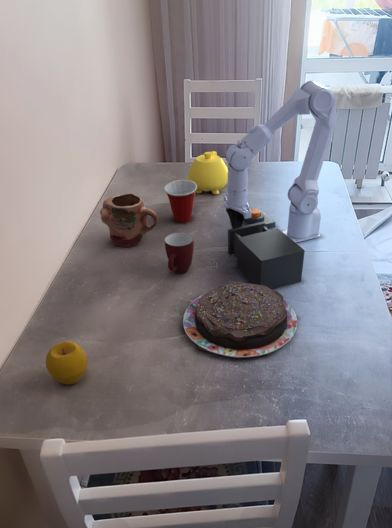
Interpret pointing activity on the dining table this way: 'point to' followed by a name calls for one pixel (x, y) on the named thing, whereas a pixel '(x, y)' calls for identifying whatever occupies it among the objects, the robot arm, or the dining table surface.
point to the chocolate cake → (240, 320)
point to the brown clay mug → (126, 219)
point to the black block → (270, 259)
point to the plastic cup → (181, 199)
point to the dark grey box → (242, 232)
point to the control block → (260, 220)
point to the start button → (255, 213)
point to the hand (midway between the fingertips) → (236, 230)
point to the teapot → (208, 173)
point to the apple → (66, 362)
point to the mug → (179, 251)
